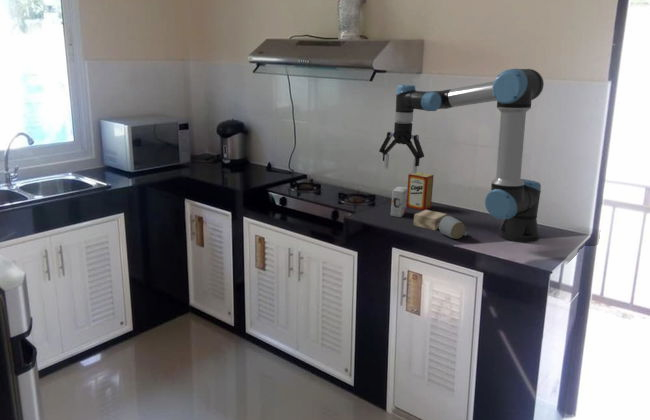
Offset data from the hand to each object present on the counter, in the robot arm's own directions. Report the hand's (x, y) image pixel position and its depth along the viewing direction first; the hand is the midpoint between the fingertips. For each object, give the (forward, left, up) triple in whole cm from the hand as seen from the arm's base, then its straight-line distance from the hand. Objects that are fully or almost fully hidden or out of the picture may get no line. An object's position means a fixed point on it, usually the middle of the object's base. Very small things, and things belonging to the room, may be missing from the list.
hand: (399, 171), depth 240 cm
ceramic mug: (-32, +11, -20) cm, 39 cm away
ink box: (0, -1, -20) cm, 20 cm away
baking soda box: (-1, -18, -20) cm, 27 cm away
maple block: (-18, +4, -20) cm, 27 cm away
